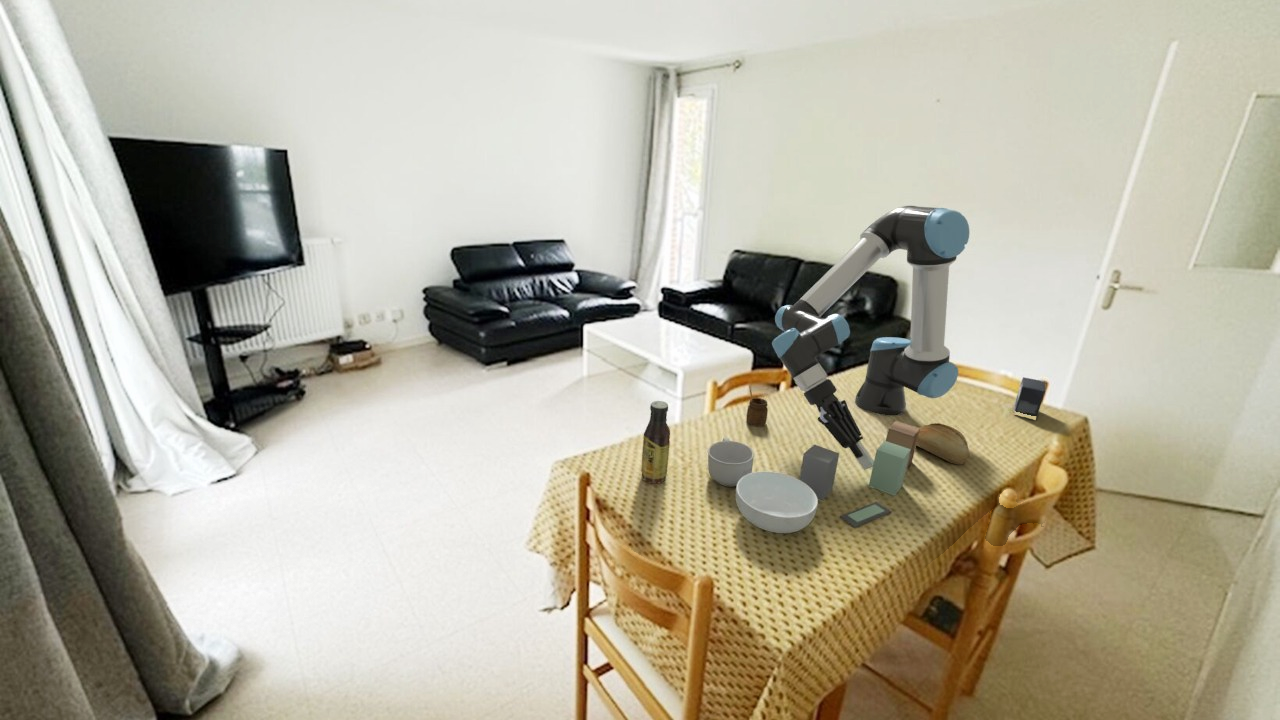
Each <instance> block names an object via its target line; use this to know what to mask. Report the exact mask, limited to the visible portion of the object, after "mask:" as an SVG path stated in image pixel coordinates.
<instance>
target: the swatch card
mask: <svg viewBox="0 0 1280 720" xmlns="http://www.w3.org/2000/svg"><path fill="white" fill-rule="evenodd" d="M889 514H892V510H891V509H889V508H887V507H885V506H884V505H882V503H879V502H878V501H875V502H872V503H869V504H867V505H864V506H861V507H859V508H857V509H854V510H851V511H849V512H846V513H844V514H841V515H840V516H839V518H840V519H841V520H843V521H844V522H846V524H849V526H851V527H853V528H854V529H855V528H858V527H861V526H863V525H865V524H867V523H871V522H872V521H875V520H877V519H880V518H882V517H884V516H887V515H889Z"/></svg>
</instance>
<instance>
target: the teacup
mask: <svg viewBox="0 0 1280 720" xmlns="http://www.w3.org/2000/svg"><path fill="white" fill-rule="evenodd" d="M754 457H755V453H754V450H753V449H752V448H751V446H749V445H747V444H745V443H742V442H739V441H733V440H731V439H730V437H728V436H727V437H723V438H722V441H717V442H715V443H712V444H711V445H710V446H709V447H708V448H707V467H708V468H707V469H708V473H709V475H710V477H711V478H712V480H714V481H715V482H716V483H719V485H722V486H724V487H732V488H733V487H737V483H738V481H739V480H740V479H741V478H742V477H743V476H745V475H747V474H750V473H753V472H752V471H753V467H754Z"/></svg>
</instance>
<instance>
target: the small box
mask: <svg viewBox="0 0 1280 720" xmlns="http://www.w3.org/2000/svg"><path fill="white" fill-rule="evenodd" d="M1045 395H1046V381H1045V380H1041V379H1033V378H1028V377H1022V379H1021V382H1020V385H1019V388H1018V392H1017V394H1016V398H1015V402H1014V407H1015V408H1013V409H1014V410H1015V411H1016V412H1020V413H1023V414H1027V415H1031V416H1037V417H1039V412H1040V409H1041V405H1042V403H1043V399H1044V396H1045ZM1014 410H1013V411H1014Z"/></svg>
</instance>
